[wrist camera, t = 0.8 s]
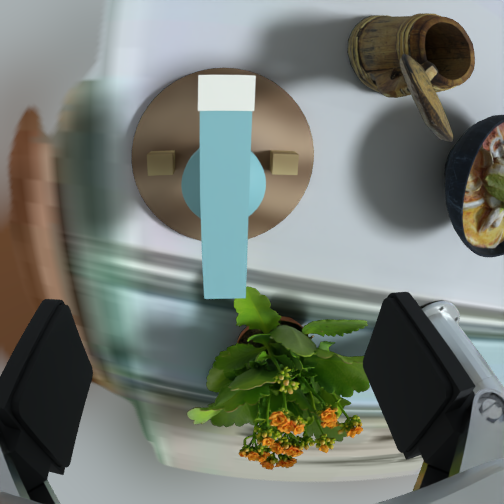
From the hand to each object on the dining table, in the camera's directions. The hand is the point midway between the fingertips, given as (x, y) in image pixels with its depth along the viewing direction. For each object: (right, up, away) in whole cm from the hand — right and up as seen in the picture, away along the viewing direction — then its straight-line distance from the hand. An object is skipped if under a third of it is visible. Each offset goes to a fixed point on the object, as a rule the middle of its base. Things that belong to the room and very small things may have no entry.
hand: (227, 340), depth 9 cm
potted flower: (+4, -9, +35) cm, 36 cm away
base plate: (-2, +12, +22) cm, 26 cm away
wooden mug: (+13, +22, +19) cm, 32 cm away
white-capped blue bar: (-1, +9, +15) cm, 17 cm away
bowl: (+29, +13, +25) cm, 40 cm away
